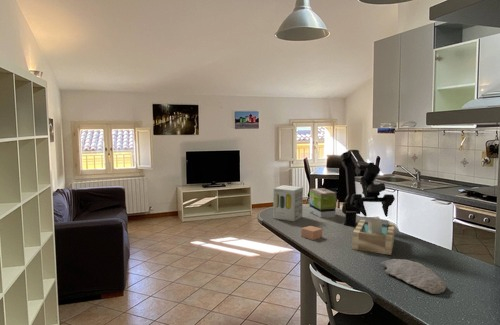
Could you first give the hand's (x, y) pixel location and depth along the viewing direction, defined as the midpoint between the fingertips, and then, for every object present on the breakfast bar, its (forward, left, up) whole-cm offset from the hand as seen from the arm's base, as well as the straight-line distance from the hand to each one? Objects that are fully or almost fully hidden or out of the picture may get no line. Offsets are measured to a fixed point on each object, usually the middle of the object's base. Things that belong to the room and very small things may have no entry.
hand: (376, 216), depth 155 cm
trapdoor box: (-3, -1, -14) cm, 14 cm away
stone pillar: (-1, 0, -8) cm, 8 cm away
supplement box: (-29, -51, -14) cm, 60 cm away
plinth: (0, -29, -14) cm, 32 cm away
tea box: (-45, -35, -14) cm, 59 cm away
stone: (+29, +16, -14) cm, 36 cm away
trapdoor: (-4, -1, -9) cm, 10 cm away
